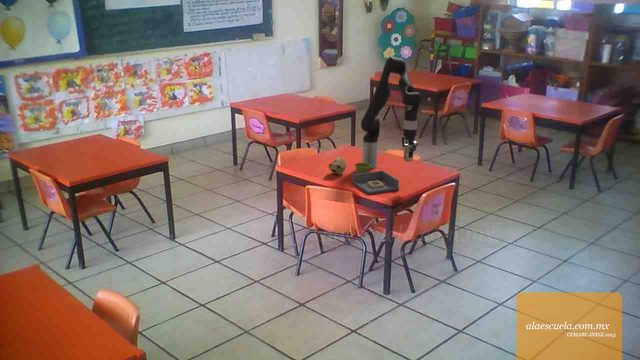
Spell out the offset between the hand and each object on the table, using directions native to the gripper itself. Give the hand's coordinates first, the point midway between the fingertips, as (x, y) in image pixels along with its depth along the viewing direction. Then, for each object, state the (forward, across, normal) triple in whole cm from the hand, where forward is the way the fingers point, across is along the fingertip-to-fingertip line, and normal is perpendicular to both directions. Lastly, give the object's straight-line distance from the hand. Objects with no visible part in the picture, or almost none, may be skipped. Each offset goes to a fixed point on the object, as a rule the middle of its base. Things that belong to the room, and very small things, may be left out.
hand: (408, 156), depth 344 cm
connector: (+2, 0, 0) cm, 2 cm away
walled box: (+19, +8, +16) cm, 26 cm away
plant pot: (+19, +25, +16) cm, 35 cm away
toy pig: (+19, +38, +28) cm, 51 cm away
